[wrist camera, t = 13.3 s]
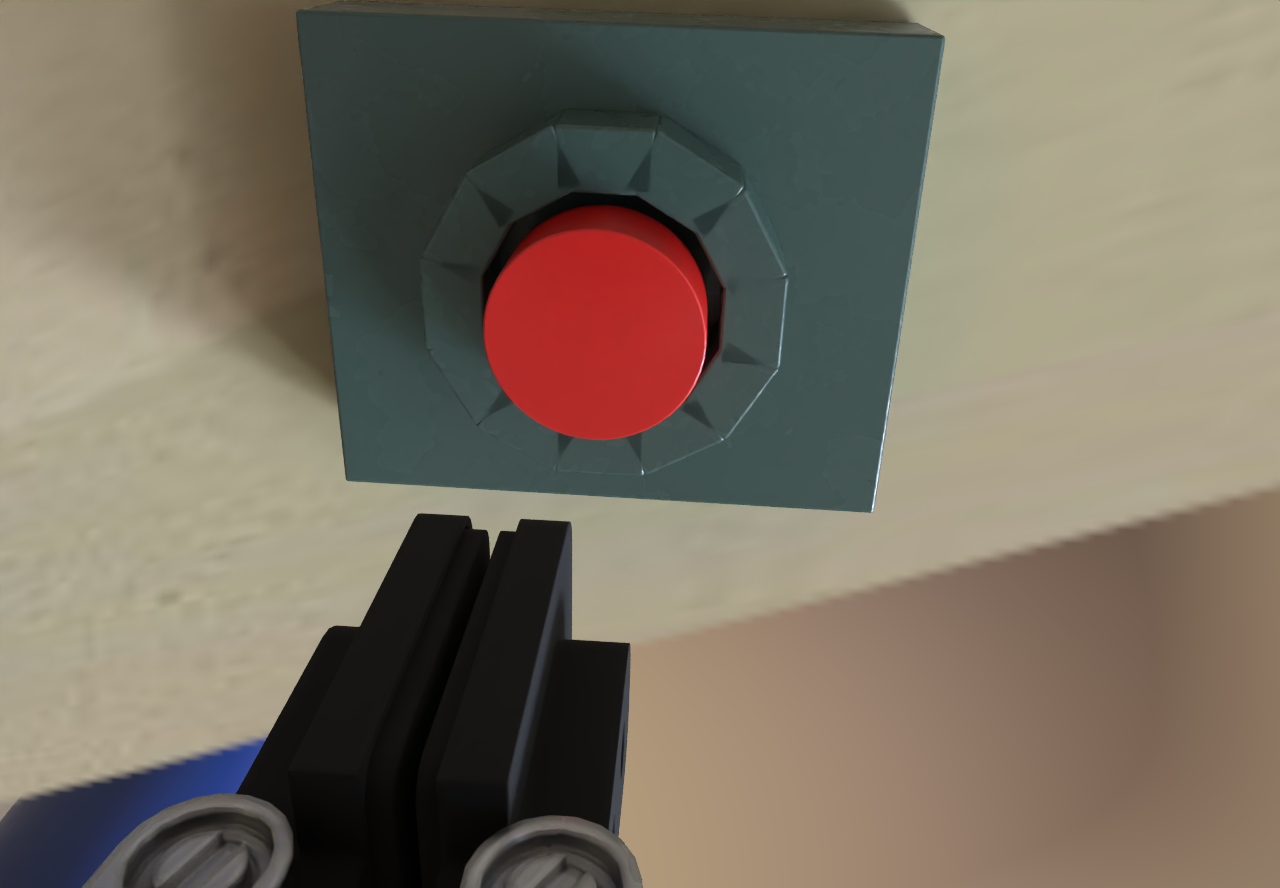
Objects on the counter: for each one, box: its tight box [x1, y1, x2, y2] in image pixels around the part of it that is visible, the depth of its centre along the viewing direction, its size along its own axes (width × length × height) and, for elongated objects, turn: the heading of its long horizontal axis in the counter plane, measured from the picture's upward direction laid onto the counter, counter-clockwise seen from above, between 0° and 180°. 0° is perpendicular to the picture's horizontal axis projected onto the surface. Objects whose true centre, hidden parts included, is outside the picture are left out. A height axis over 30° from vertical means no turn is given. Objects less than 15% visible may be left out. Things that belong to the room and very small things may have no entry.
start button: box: [483, 205, 708, 440], centre depth 19 cm, size 4×4×2 cm
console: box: [296, 1, 945, 513], centre depth 22 cm, size 10×12×4 cm
